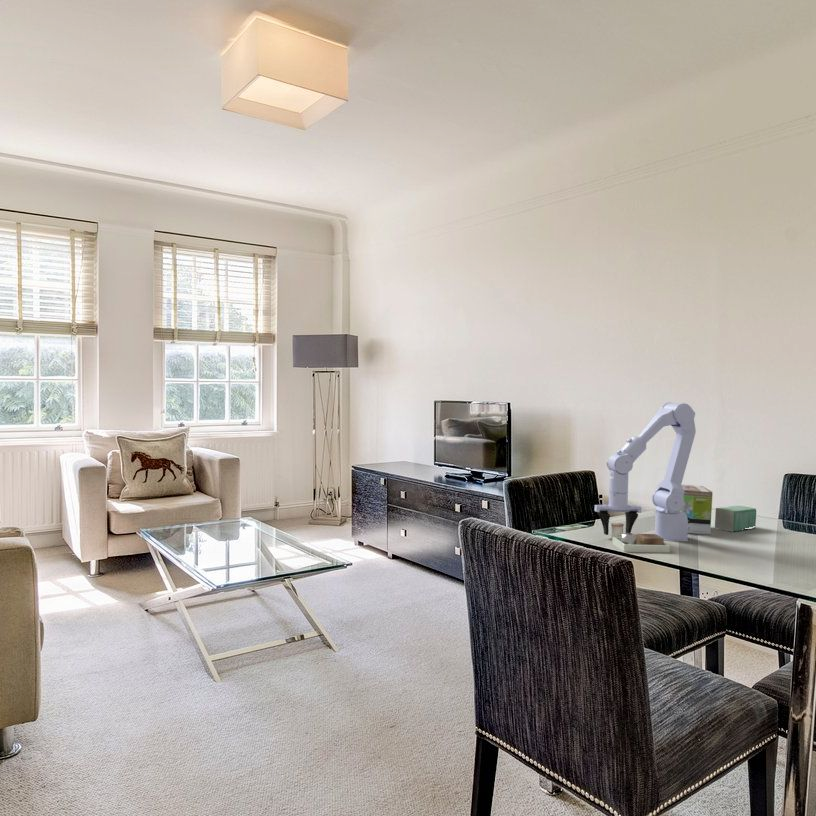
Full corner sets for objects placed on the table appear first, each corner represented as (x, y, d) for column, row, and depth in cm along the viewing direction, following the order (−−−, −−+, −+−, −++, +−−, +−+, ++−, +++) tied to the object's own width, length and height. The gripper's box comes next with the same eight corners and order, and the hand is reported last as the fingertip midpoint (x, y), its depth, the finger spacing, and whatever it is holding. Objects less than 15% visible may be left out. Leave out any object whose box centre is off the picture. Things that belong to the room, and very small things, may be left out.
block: (655, 545, 208) (655, 534, 208) (663, 550, 202) (663, 538, 202) (635, 545, 208) (636, 533, 208) (643, 550, 202) (643, 538, 202)
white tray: (655, 545, 211) (656, 537, 211) (669, 553, 200) (669, 545, 200) (612, 544, 210) (612, 537, 210) (623, 552, 200) (624, 545, 200)
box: (756, 528, 239) (757, 507, 239) (733, 532, 232) (734, 511, 232) (736, 524, 245) (737, 504, 245) (714, 528, 238) (714, 507, 238)
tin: (633, 545, 207) (633, 533, 207) (638, 549, 203) (638, 536, 203) (618, 545, 207) (619, 532, 207) (623, 549, 203) (624, 536, 203)
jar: (620, 538, 219) (621, 522, 219) (624, 541, 215) (625, 525, 215) (609, 538, 219) (609, 522, 219) (612, 540, 215) (613, 525, 215)
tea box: (711, 535, 227) (713, 491, 226) (679, 533, 229) (681, 489, 228) (701, 526, 242) (703, 484, 241) (671, 524, 244) (673, 483, 243)
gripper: (636, 490, 221) (634, 531, 221) (592, 489, 220) (590, 531, 221) (644, 494, 214) (642, 536, 214) (599, 493, 213) (597, 536, 214)
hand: (617, 534), depth 217 cm, fingers open, 6 cm apart
